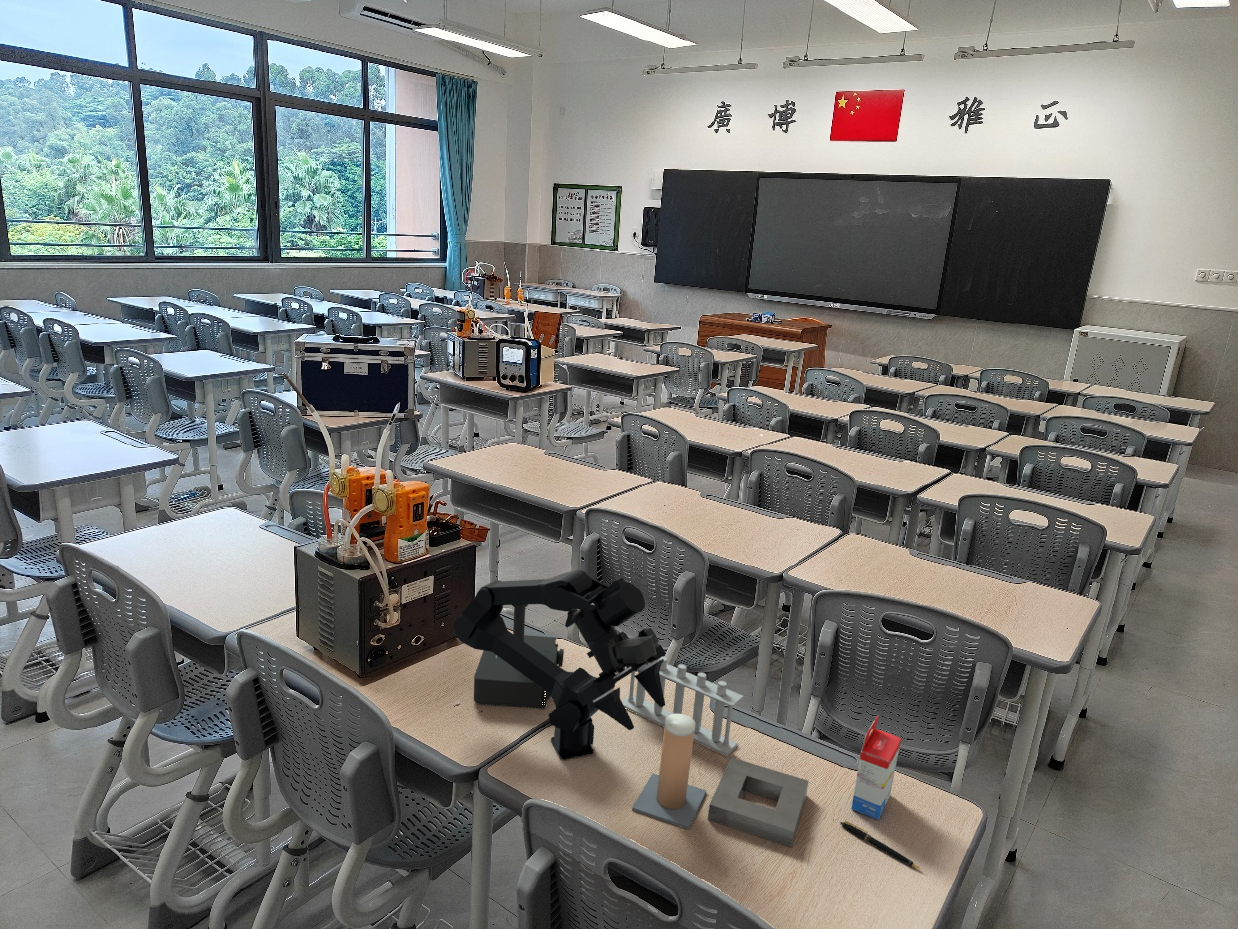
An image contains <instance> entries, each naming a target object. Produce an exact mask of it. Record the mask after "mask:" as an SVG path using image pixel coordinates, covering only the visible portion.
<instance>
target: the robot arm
mask: <svg viewBox="0 0 1238 929" xmlns="http://www.w3.org/2000/svg"><path fill="white" fill-rule="evenodd" d="M525 604H528V605H544V606H546V607H548V608H549V609H550V610H554V611H555V610H556V611H561V612H567V617H566V621H565V624H564V626H565V627H566V628H569V627H572V626H573V625H576V627H577V629H578V631H579V632H580V634H581V636H582V638H583V639H584V641H585V643H586V645H587V647H588V649H589V651H587V652H586V655H587V656H588V658H589V659H591V658H593V657H594V659H595V661H596V662H597V664H598V667H599V668H600V670H601V671H602V672H600V673H598V676H597V677H596V676H593V675H592V674H590V673H589V672H588V671H587V670H586V669H585V668H582V667H578V668H577V669H575V670H574V671H567V670H565V669H563V667H559V666H558V665H556V664H555V663H553V662H552V661H551V660H549V659H548V658H546V657H545V656H543V655H542V654H541V653H539V652H538V651H536V650H535V649H533V648H532V647H531V646H529V645H528V644H526V643H525V642H524V641H522V640H521V639H519V638H518V637H516V636H515V635H514V634H513V632H510V631H509V630H508V627H507V625H506V623H505V620H504V618H503V617H502V615H501V613H502V611H503V610H504V606H512V605H525ZM645 607H646V602H645V598H644V595H643V593H642V591H641V590H640V588H638V587H636V586H635V585H634V584H633V583H631V582H627V581H625V579H624V578H623V577H622V576H619V577H618V578H617V579H616V580H614V581H613V582H611V583H610V584H606V583H604V582H602V581H599V580H598V579H595V578H593V577H591V576H590V575H588V574H587V572H586V571H585V570H582V569H575V570H572V571H571V570H570V571H567V572H564V573H561V574H558V575H556V576H553V577H549V578H542V579H541V578H540V579H538V578H537V579H524V580H523V579H522V580H521V579H520V580H503V581H502V580H493V581H491V582H489V583H487V584H485V585H482V586H481V587H480V588H479V589H478V591H477V593H476V595H475V596H474V597H473V599H472V601H471V602H469V603H468V605H467V606H466V607H465V609H464V610H463V612H462V613H461V615H459V616H458V617H456V618H455V621H454V633H455V636H456V638H457V639H458V640H459V641H460V642H461V643H463V644H464V645H466V646H467V647H470V648H471V649H474V650H478V651H483V650H484V651H490V652H493V653H494V654H496V655H497V656H498V657H500V658H501V659H503V660H504V661H505V662H507V663H508V664H509V665H511V666H512V667H514V668H515V669H516V670H518V671H519V672H520V673H522V674H523V675H525V676H526V677H527V678H529V679H530V680H532V681H533V682H534V683H536V684H537V685H538V686H540V687H541V688H543V689H544V690H545V691H547V692H548V693H549V694H550V695H551V697H550V698H551V700H552V702H553V704H554V707H555V708H554V709H553V710H552V711H551V712H549V713H548V718H549V723H550V726H553V727H554V734H553V736H552V737H550V742H551V745H552V746H553V747H554V750H555V751H556V754H557V755H558V757H559V759H560V760H562V761H564V760H570V759H574V758H579V757H584V756H589V755H593V754H594V753H595V751H594V750H595V749H594V748H593V745H594V738H595V737H594V736H595V735H594V734H595V725H594V723H593V718H592V717H593V716H594V715H595V714H596V713H597V712H598V711H600V712H602V713H604V714H605V715H607V716H609V717H610V718H611V719H612V720H614V721H616V722H617V723H618V724H620V725H621V726H623V727H624V728H625V729H627V730H628V731H632V730H633V729H634V728H635V724H634V723H633V720H632V719H631V717H630V715H629V713H628V710H626V709H625V707H624V705H623V703H622V700H621V688H620V686H619V687H617V688H615V687H616V683H618V682H619V681H621V680H622V679H624V678H626V677H627V676H629V675H631V673H632V672H633V671H635V673H636V672H637V674H635V679H636V681H637V680H638V681H639V683H640V684H641V685H642V686H643V688H644V689H645V692H647V694H648V695H649V696H650V698H651V699H652V700H653V701H654V702H656V703H657V704H658V705H659V706H660V707H665V706H666V700H665V694H664V695H663V690H662V686H661V681H660V673H659V672H660V668H661V664H662V663H663V662H664V659H662V660H660V661H658V660H659V658H661V657H665V656H666V655H667V653H666V651H665V650H664V648H663V646H662V645H661V644H660V643H659V639H658V637H657V635H656V633H655V631H654V630H653V629H652V628H651V627H645V628H643V629H641V630H639V631H638V635H636V636H634V637H630V638H629V636H628V634H627V633H626V632H624V631H621V632H618V629H617V628H616V627H620V626H621V625H623V624H624V623H626V622H627V621H629V620H631V619H632V618H634V617H635V616H637V615H639V614H640V613H641V612H643V611H644V609H645ZM616 673H617V674H616Z"/></svg>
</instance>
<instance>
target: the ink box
mask: <svg viewBox="0 0 1238 929" xmlns="http://www.w3.org/2000/svg"><path fill="white" fill-rule="evenodd" d="M879 718H880V717H879V715H878V714H877V716H876V717H875V719H874V721H873V722H872V723H871V725H870V727H869V729H868V730H867V732H866V733H865V735H864V739H863V742H862V746H861V750H860V756H859V761H858V762H859V763H858V767H857V774H856V780H855V786H854V789H853V797H852V803H851V808H850V809H851V810H853V811H855V812H858V813H861V814H863V815H865V816H868V817H870V818H873V819H875V820H877V821H879V820H880V817H881V815H882V813H883V811H884V809H885V807H886V805H887V802H888V801H889V798H890V797H891V794H892V787H893V783H894V778H895V771H896V767H897V762H898V758H899V757H898V756H899V752H900V746H901V743H902V742H901V741H902V738H901V737H899V736H896V735H894V734H891V733H888V732H886V731H883V730H880V729H877V726H878V721H879Z"/></svg>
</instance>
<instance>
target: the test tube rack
mask: <svg viewBox="0 0 1238 929" xmlns="http://www.w3.org/2000/svg"><path fill="white" fill-rule="evenodd" d="M662 659H664V662H663V663H662V664H661V668H660V672H659V673H660V681H661V686H662V690H663V695H664V696H665V688H666V680H668V681H670V682H673V683H675V688H674V689H675V690H674V699H673V710H672V712H671V711H669V710H666V709H664V708H663V707H664V706H663V707H660V706H659V705H658V704H657V703H656V702H655V701H654V703H652V702H650V701H647V700H645V699H646V697H645V696H646V690H645V689H644V688H643V686H642V685H641V684H640V683H639V681H638V680H637V679H636V678H635V675H636V672H635V671H633V672H632V673H630V683H629V693H628V694H629V695H627V697H625V698H623V699H622V700H621V701H622V703H623V705H624V707H625V708H627V709H629V710H631V711H633V712H635V713H637V714H638V715H637V714H636V715H637V716H639V715H641V716H643V717H645V718H646V720H648V719H650V720H651V721H650V720H649V721H650V722H652V721H653V722H652V723H654V722H655V723H654V724H656V723H657V724H656V725H658V724H660V725H662V726H664V727H665V719H666V717H667V716H669V715H671V714H683V705H684V697H685V688H687V689H689V690H692V691H694V692H695V695H694V702H693V712H692V713H693V714H692V719H693V720H694V721H695V731H694V739H693V743H694V742H695V743H697V744H698V745H701V746H703V747H705V748H707V749H709V750H712V751H714V752H715V753H718V754H720V755H722V756H724V757H728V756H729V755H730V754H731V753H732V752H733V751H734V750H735V749H736V748H737V747H738V743H739V742H737V741H735V740H732V739H731V738H730V732H731V724H732V716H733V709H734V708H733V707H734V706H736V705H737V704H738V703H739V702H740V701H741V700H742V699H744V695H743V694H740V693H739V692H738V693H737V692H735V691H732V690H730V689H728V685H727V682H726V681H723V680H719V681H718V682H717V684H716V683H714V682H711V681H709V680H707V678H708V677H707V674H706V673H705V672H698V673H697V676H696V675H694V674H692V673H689V672H687V671H688V669H687V665H685V664H683V663H681V664H677V667H675V666H673V665H671V664H670V663H669V664H668V658H667V657H666V656H663V657H661V658H659V659H658V661H660V660H662ZM635 679H636V681H637V682H636V694H635V695H634V690H635ZM705 697H707V698H709V699H712V700H715V703H714V711H713V712H714V713H713V722H712V729H711V730H710V729H709V728H706V727H705V726H702V719H703V711H704V702H705V701H704V700H705ZM725 706H728V707H727V713H726V714H727V716H726V723H725V732H724V736H723V735H722V729H723V721H724V720H723V719H724V713H725ZM629 710H628V711H629ZM631 711H630V712H631ZM633 712H632V713H633ZM635 713H634V714H635ZM641 716H640V717H641ZM643 717H642V718H643ZM645 718H644V719H645ZM660 725H659V726H660ZM662 726H661V727H662ZM664 727H663V728H664Z"/></svg>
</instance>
